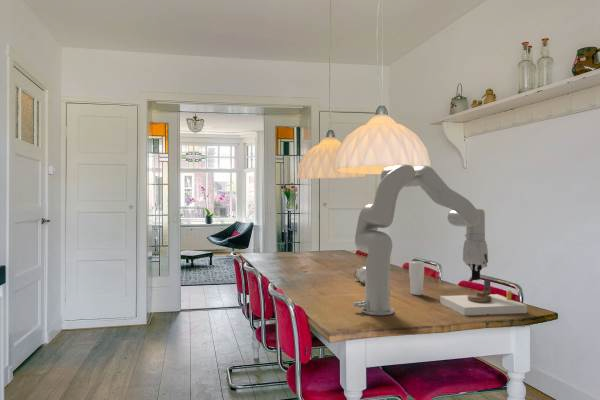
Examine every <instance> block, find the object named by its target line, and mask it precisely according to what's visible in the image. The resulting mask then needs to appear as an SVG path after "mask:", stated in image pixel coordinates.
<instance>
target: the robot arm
mask: <svg viewBox="0 0 600 400" xmlns="http://www.w3.org/2000/svg"><path fill="white" fill-rule="evenodd" d="M380 180H381V181H380V182H379V184H378V186H377V188H376V191H375V196H374V199H373V203H369V204H366V205H364V206H363V207H362V209H361V210H360V212H359V215H358V219H357V224H356V231H355V236H354V243H355V247H356V248H357V250H358V251H359V252H361V253H364V254H367V257H366V261H365V265H364V266H365V284H364V285H365V288H364V289H365V292H364V293H365V294H364V296H365V298H362V300H360V301H353V304H352V305H353V308H358V309H359V308H360V309H361V313H363V314H366V315H368V316H369V315H370V316H390V315H392V314H394V313H395V310H394V308H393V307H392V306H390V305H391V301H390V300H391V296H390V295H391V289H390V288H391V256H392V251H393V240H392V238H391V237H390V235H389V234H387V233H386V232H384V231H380V230H379V229H387V228H389V227H390V226H391V225H392V224H393V222H394V217H395V212H396V206H397V200H398V196H399V193H400V192H401V191H402V189H403V188H405V187H406V188H407V187H420V188H421V189H422V190H423V191H424V192H425V194H426V195H427V196H428V197H429V198H430V199H431V201H432V202H434V203H435V204H437V205H439V206H442V207H444V208H447V209H451V210H450V211H449V212H448V214H447V216H446V217H447V221H448V223H449V224H450V225H452V226H454V227H455V226H456V227H465V231H466V232H465V235H464V237H465V238H466V239H464V243H463V249H462V261H463V263H464V264H465V265H467V266H468V267H469V269H470V271H471V280H473V281H479V280H481V271H482V269H483V268H484V269H485V268H488V262H489V253H488V252H489V251H488V244H487V240H486V222H485V221H486V218H485V217H486V214H485V213H486V212H485V210H484V209H483V208H476V207H475V206H474V204H473V203H472V202H471V201H470V200H469V199H467V198H466V197H464V196H463V195H462V194H460V193H459V192H456V191H455V190H453V189H452V188H451V187H449V186H448V185H447V183H445V181H444V180H443V179H442V177H440V175H439V174H438V173H437V172H436V170H434V168H432V167H431V166H428V165H417V166H416V165H415V166H413V165H411V164H398V165H390V166H386V167H385V168H384V169H383V170H382V171H381V173H380Z"/></svg>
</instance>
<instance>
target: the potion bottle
mask: <svg viewBox="0 0 600 400" xmlns="http://www.w3.org/2000/svg"><path fill="white" fill-rule="evenodd" d="M353 278H355V279H357V280H358V281H359V282H361V283H362V284H364V285H365V265H363V266H361V267H360V268H356V269H355V271H354V275H353Z"/></svg>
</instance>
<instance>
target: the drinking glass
mask: <svg viewBox="0 0 600 400" xmlns="http://www.w3.org/2000/svg"><path fill="white" fill-rule="evenodd" d="M408 273H409V274H408V275H409V283H410V284H409V287H410V294H411V296H413V295H414V296H421V295H423V288H424V277H425V262H424V261H421V260H411V261H408Z"/></svg>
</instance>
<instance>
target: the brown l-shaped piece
mask: <svg viewBox="0 0 600 400" xmlns="http://www.w3.org/2000/svg"><path fill="white" fill-rule="evenodd" d="M490 294H491V279H484V280H483V290H481V291H479V292H477V293H470V294H467V295H468V300H470V301H474V302H491V301H492V297H491V296H489V295H490Z"/></svg>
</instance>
